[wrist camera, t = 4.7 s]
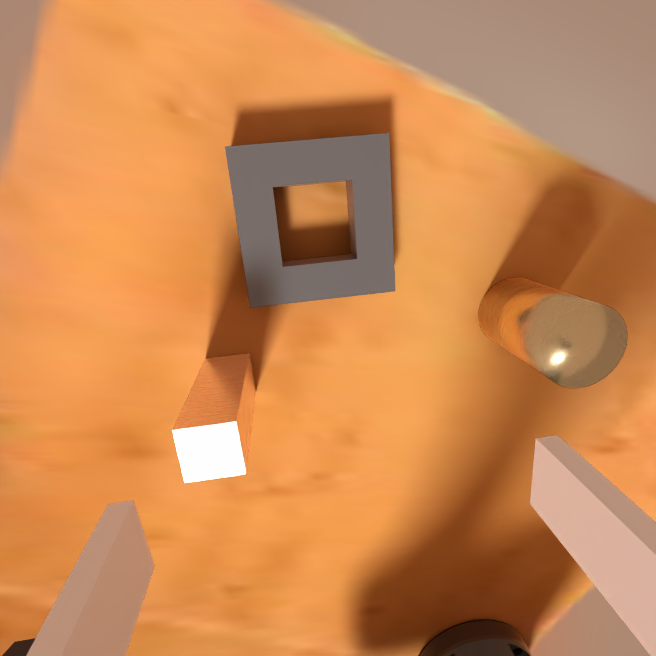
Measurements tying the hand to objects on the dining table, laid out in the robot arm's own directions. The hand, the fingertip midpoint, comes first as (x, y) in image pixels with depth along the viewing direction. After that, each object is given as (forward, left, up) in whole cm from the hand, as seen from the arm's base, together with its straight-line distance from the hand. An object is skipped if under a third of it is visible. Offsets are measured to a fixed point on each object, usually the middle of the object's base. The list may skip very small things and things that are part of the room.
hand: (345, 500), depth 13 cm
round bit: (-20, +3, -25) cm, 32 cm away
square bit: (+7, +6, -25) cm, 26 cm away
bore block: (-2, -7, -25) cm, 26 cm away
